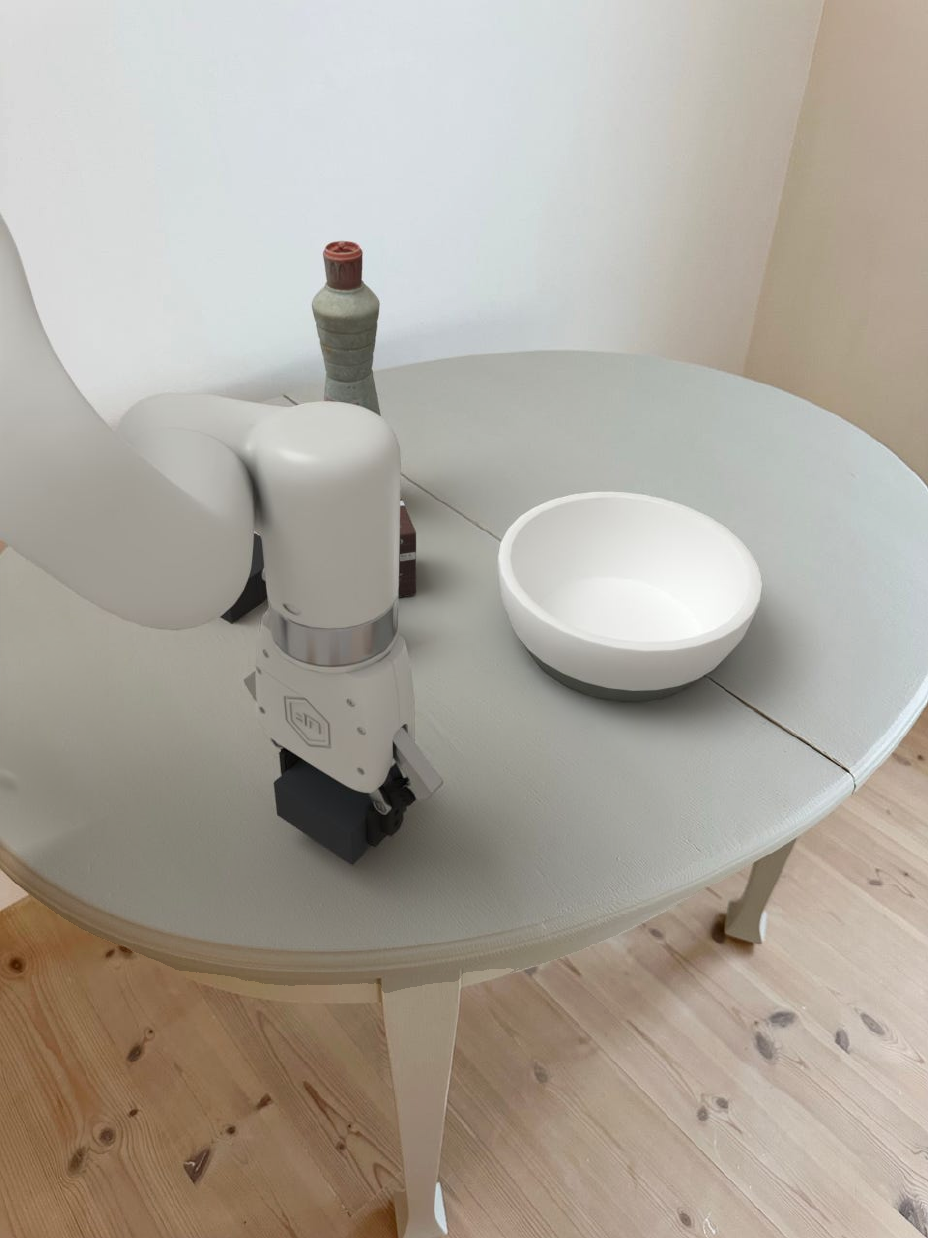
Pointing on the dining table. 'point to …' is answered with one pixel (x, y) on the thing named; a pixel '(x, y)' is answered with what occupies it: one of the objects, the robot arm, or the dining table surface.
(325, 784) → the pad
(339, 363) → the bottle
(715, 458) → the dining table surface
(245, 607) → the notch pad
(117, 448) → the robot arm
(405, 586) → the box
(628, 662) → the bowl
